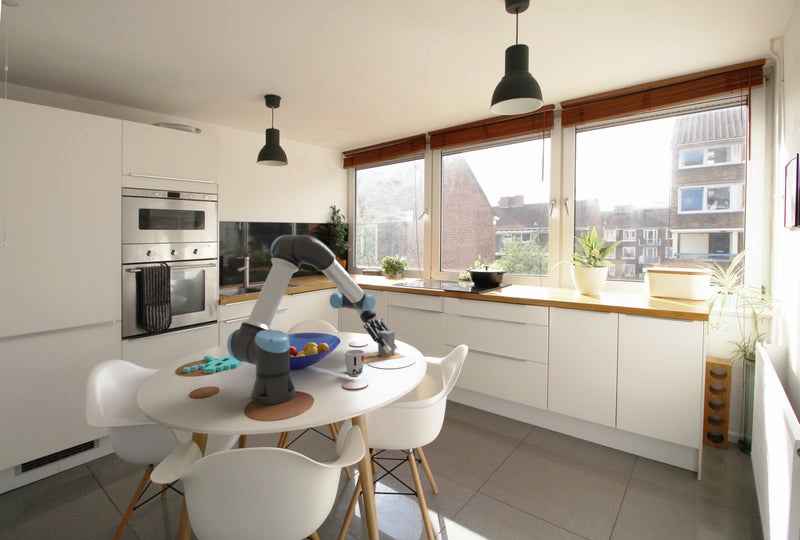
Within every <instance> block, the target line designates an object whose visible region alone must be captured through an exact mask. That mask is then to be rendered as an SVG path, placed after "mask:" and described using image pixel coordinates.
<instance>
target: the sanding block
mask: <svg viewBox="0 0 800 540" xmlns="http://www.w3.org/2000/svg"><path fill="white" fill-rule="evenodd" d="M379 334H380V336H381V338H382V339H384V340H385V342H386V343H387V344H388V346H389V347H390V349H391V351H390V352H389V353H386V351H385V350H384V348H383V347H382V346H381V345H380V343H377V344H378V345H377V348H378V349H377V352H378V355H382V356H387V357H389V356H392V355H394V342H395V331H391V330H390V331H386V330H384V331H381V332H380V331H379Z"/></svg>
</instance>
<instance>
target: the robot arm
mask: <svg viewBox="0 0 800 540" xmlns="http://www.w3.org/2000/svg"><path fill="white" fill-rule="evenodd" d="M270 252H271V253H270V255H271V258H270V261H271V264H272V266H271V269H270V270H269V272H268V275H267V277H266V278H265V281H264V284H263V286H262V288H261V290H260V292H259V295H258V297H257V299H256V302H255V304H254V305H253V307H252V310H251V311H250V315H249V316H248V319H245V320H244V321H242V322H241V325H240V326H239V328H237V329H235V330H233V331H232V332H231V333H230V334H229V336H228V338H227V341H226V348H227V351H228V353H229V356H232V357H233V358H234V359H237V360H238V361H241V362H242V363H248V364H252V365H255V380H254V384H253V387H252V390H251V395H250V396H251V398H250V399H251V401H252V402H253V403H256V404H260V405H275V404H281V403H284V401H285V402H287V400H288V401H290V400H291V398H292V399H293V398H294V397H295V396H296V388H295V385H294V382H293V379H292V377H291V374H290V373H291V372H290V371H291V370H290V368H291V365H290V364H291V363H290V359H291V357H290V355H291V353H290V351H291V350H290V349H291V348H290V347H291V344H290V338H289V335H288V334H287V333H286V332H284V331H281V330H279V329H278V330H277V329H271V325H272V322H273V320H274V318H275V315H276V313H277V311H278V308H279V306H280V304H281V302H282V300H283V296H284V295H285V293H286V290H287V288H288V286H289V283H290V280H291V279H292V276H293V274H294V273H297V272H298V271H299V269H300V268H301V265H302V264H305V265H309V266H312V267H314V268H315V269H316V270H317V271H319V272H322V273H323V274H324V276H326V277H327V278H328V280H329V281H331V283H332V284H333V285H335V287H336V288H337V289H338V290H339V291H337V292H334V293H332V294H331V295H330V297H329V305H330V306H331V307H332V308H333V309H342V308H343V309H351V310H354V311H355V312H356V314H357V315H358V317H359V318H360V320H361V321H362V323H364V324H363V328H364V329H365V330H366V331H367V333H368V334H369V336H370V337H371V338H372V340H373V341H374V342H375V343H376V344H378V343H380V345H381V346H382V347H383V348H384V350H385V351H386V353H389V352H390V351H391V349H390V347H389V346H388V344H387V343H386V342H385V340H384V339H382V338H381V336H380V334H379V332H381V331H384V330H386V331H391V330H390V328H389V327H388V326H387V324H386V322H385V321H384V319H383V318H380V319H379V318H378V317H377V314H376V311H375V310H374V308H375V306H376V298H375V296H374V295H372V294H370V293H369V294H368V293H366V292H365V291H364V290H363V289H362V288H361V287H360V285H359V284H358V283H357V282H356V281H355V280H354V279H353V278H352V276H351V275H350V274H349V273H348V272H347V270H345V268H344V267H343V266H342V265H341V264H340V262H339V261H337V259H336V254H335V253H334V252H333V251H332V250H331V249H330V247H328V246H327V245H326V244H325V243H324V242H323V241H321V240H319V239H318V238H317V237H315V236H312V235H309V234H301V235H299V234H298V235H297V234H295V235H293V234H286V235H280V236H278V237H276V238H275V239H274V240H273V242H272V244H271V246H270ZM398 348H399V346H398V345H397V343H396V342H395V341H394V351H395V352H396V350H398Z"/></svg>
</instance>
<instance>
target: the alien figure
mask: <svg viewBox="0 0 800 540" xmlns="http://www.w3.org/2000/svg"><path fill="white" fill-rule="evenodd" d="M203 360H204V361H206V363H202V364H199V365H193V366H190V367H189V366H185V367H184V368H183V369H182V373H183V372H189V371H191V370H197V369H204V370H203V373H204V372H210V373H209V374H215V373H216V371H217V372H220V371H222V372H223V371H229V369H230V370H231V369H237V368H239V367H240V366H241V365H243V362H241V361H238V360H237V359H234V358H233V357H232V356H231V355H223V356H221V357H220V358H219V359H217V358H216V357H214V356H212V355H208V354H207V355H205V356H203ZM207 361H209V362H207ZM238 366H239V367H238ZM197 371H198V370H197ZM191 372H192V371H191ZM189 373H190V372H189Z"/></svg>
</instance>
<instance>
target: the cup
mask: <svg viewBox="0 0 800 540" xmlns="http://www.w3.org/2000/svg"><path fill="white" fill-rule="evenodd" d="M364 354H365V350H363V349H349V350H345V352H344V357H345V365H346V371H347V373H348V377H350V376H351V377H350V378H358V376H357V375H359V374H361V373H363V371H364V365H365V364H364Z"/></svg>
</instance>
